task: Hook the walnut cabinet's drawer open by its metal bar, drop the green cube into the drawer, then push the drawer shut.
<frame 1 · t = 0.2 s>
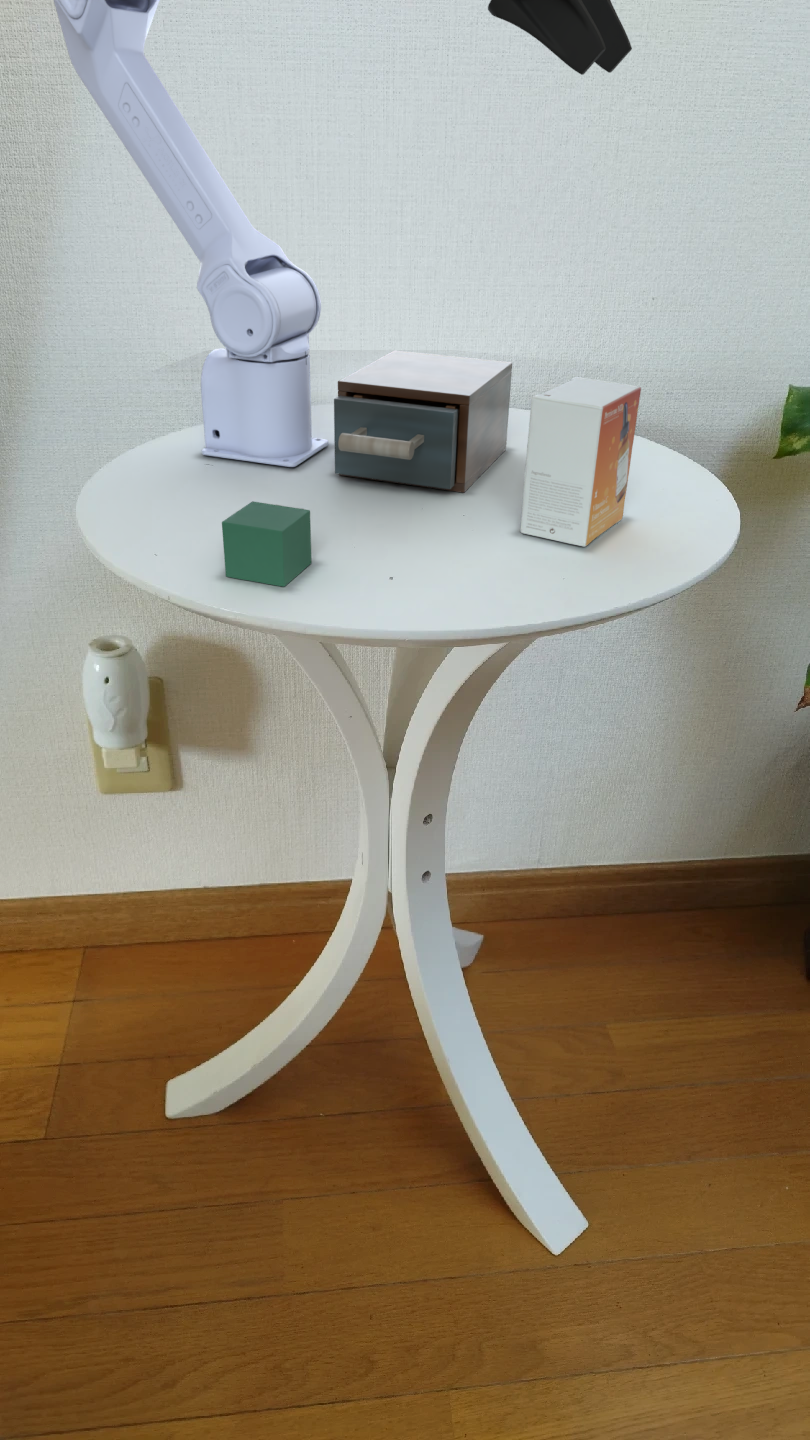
hand: (607, 61, 70), 31 cm above the table, tool tilted 45°, fingers open, 7 cm apart
cabinet: (425, 462, 93), on the table
green cube: (269, 570, 71), on the table
small box: (572, 528, 80), on the table
drawer: (408, 431, 87), point 4 cm above the table, slide at 1.0 cm
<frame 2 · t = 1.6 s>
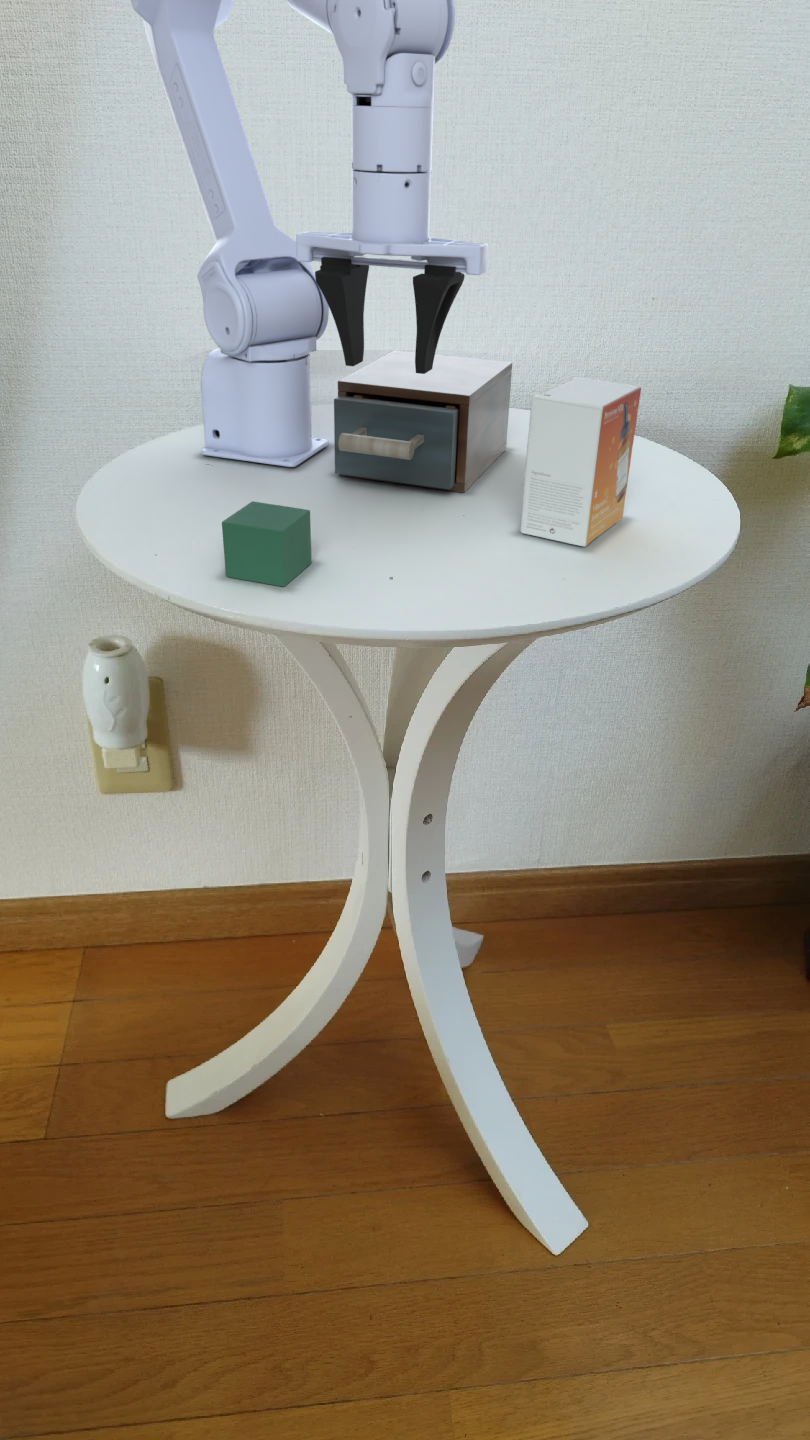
hand: (388, 367, 80), 10 cm above the table, tool pointing down, fingers open, 5 cm apart
nothing on the table moved.
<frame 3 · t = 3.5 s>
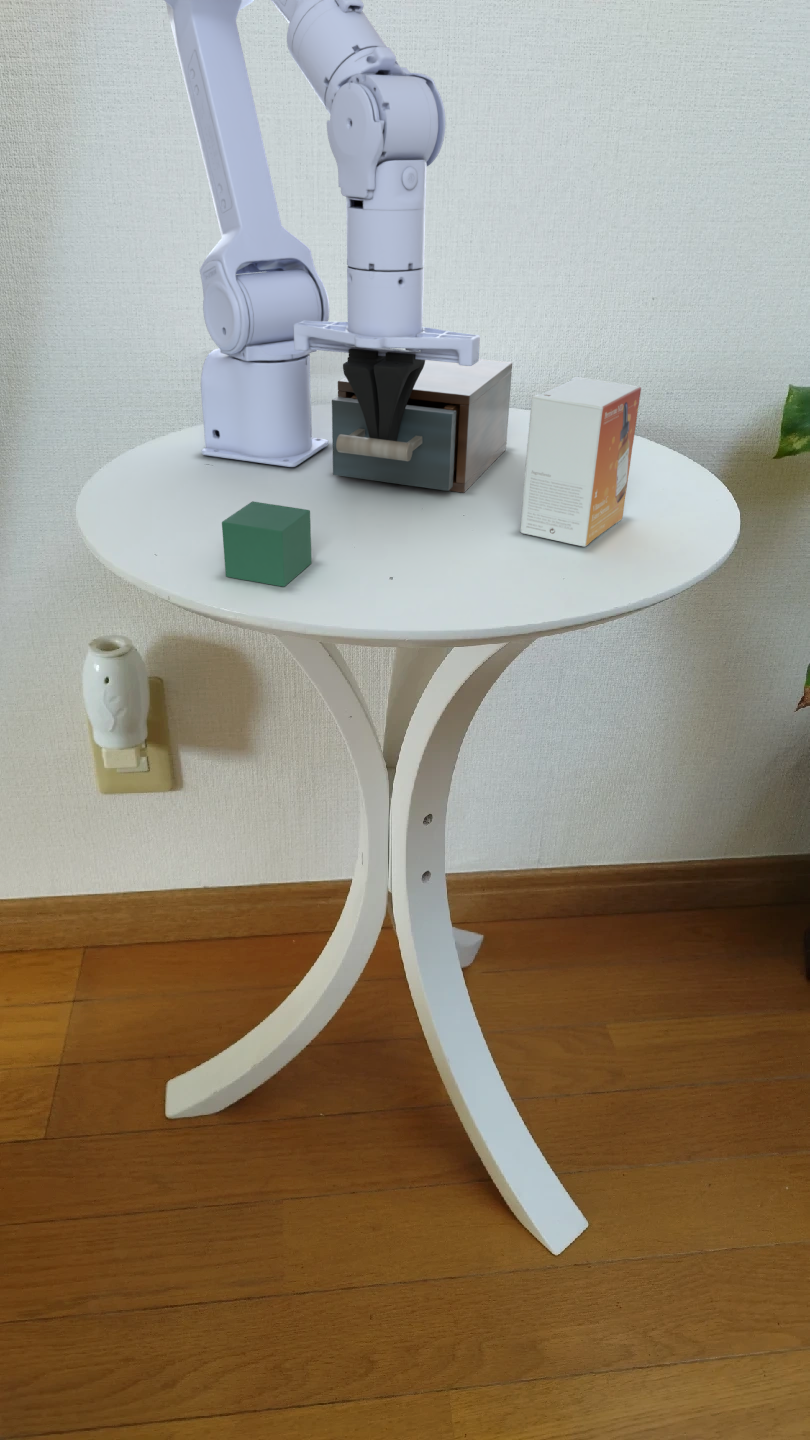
hand: (384, 449, 82), 4 cm above the table, tool pointing down, fingers closed, pressing on drawer
drawer: (407, 432, 87), point 4 cm above the table, slide at 1.4 cm, touching gripper
everything else where it was.
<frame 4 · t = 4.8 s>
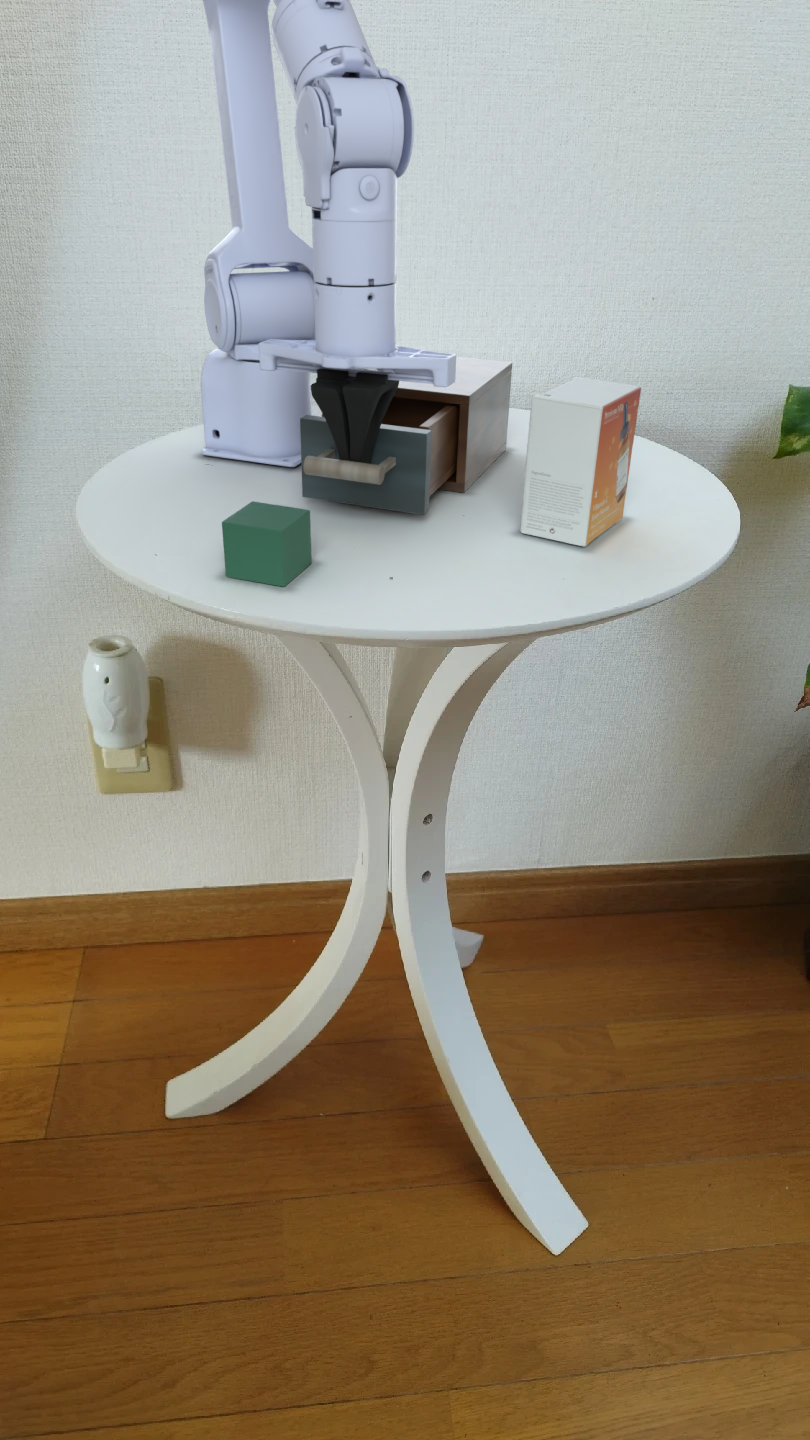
hand: (356, 475, 77), 4 cm above the table, tool pointing down, fingers closed, pressing on drawer
drawer: (381, 452, 82), point 4 cm above the table, slide at 7.6 cm, touching gripper
everything else where it was.
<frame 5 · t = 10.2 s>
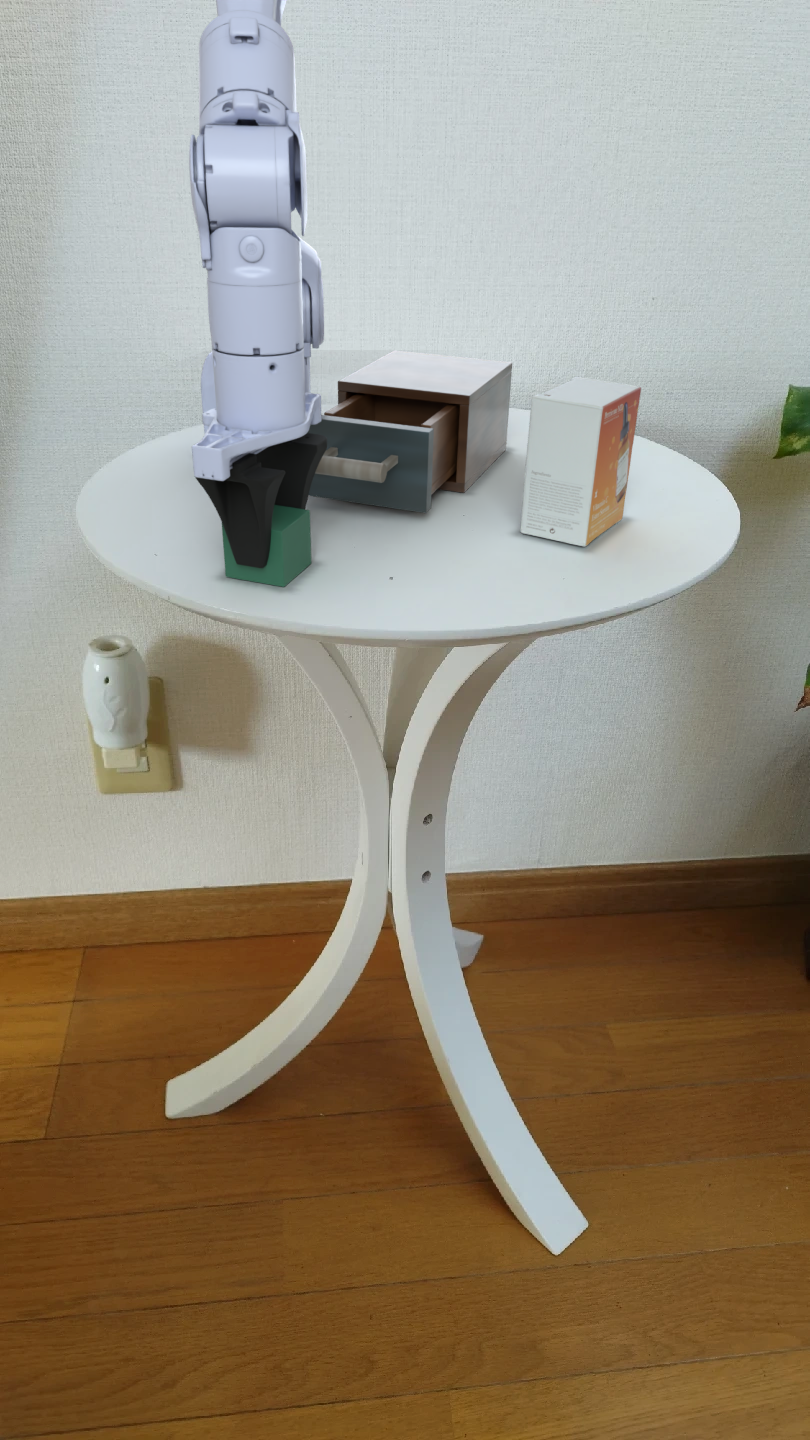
hand: (268, 551, 71), 1 cm above the table, tool pointing down, fingers closed on green cube, 4 cm apart
green cube: (269, 570, 71), on the table, touching gripper
drawer: (383, 450, 82), point 4 cm above the table, slide at 7.1 cm
everything else where it was.
when the fingers open (8 cm above the table, at t = 13.9 s): green cube drops 4 cm and tips over, resting on drawer.
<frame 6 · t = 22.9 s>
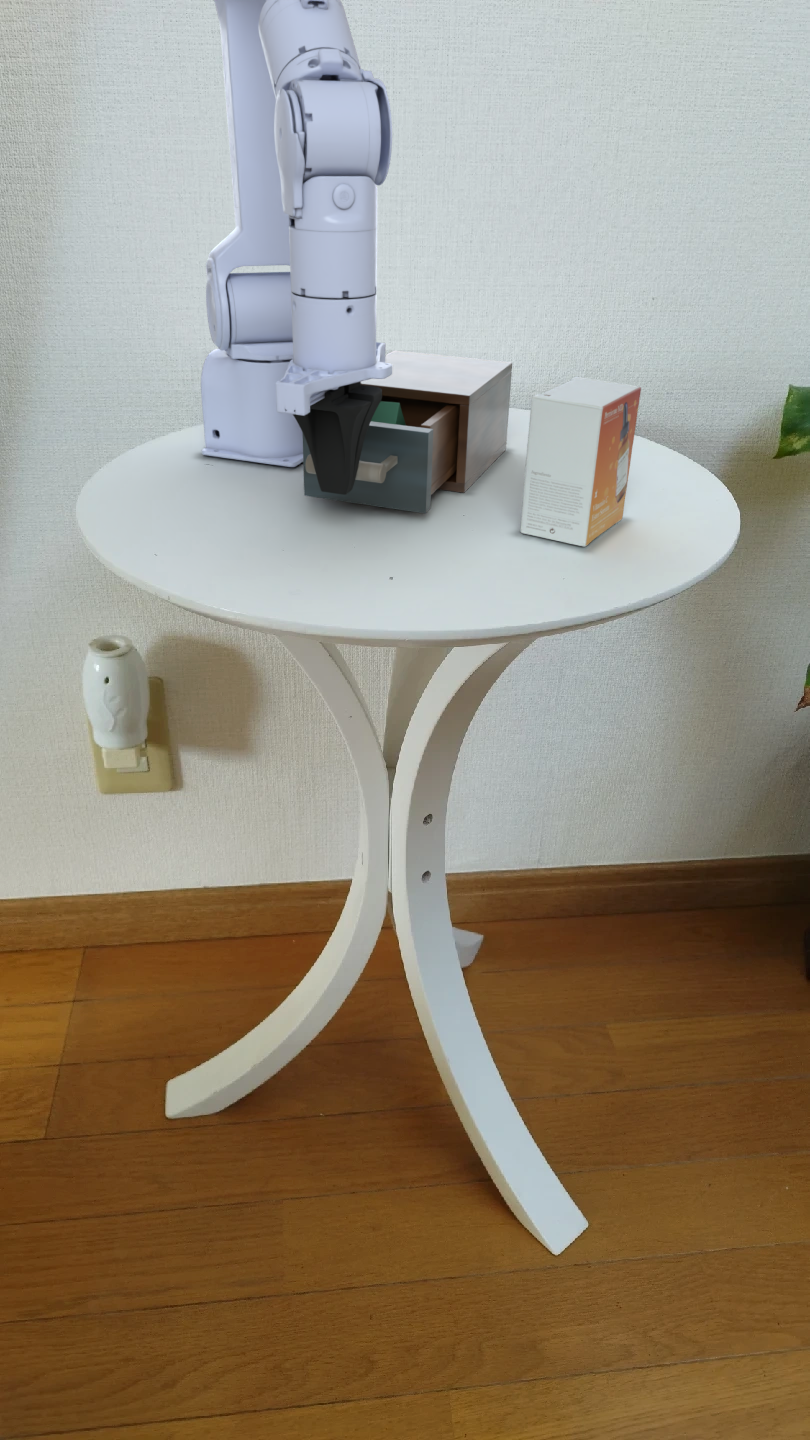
hand: (336, 490, 75), 4 cm above the table, tool pointing down, fingers closed
green cube: (368, 459, 82), point 4 cm above the table, tilted 43°, touching drawer
drawer: (382, 451, 82), point 4 cm above the table, slide at 7.2 cm, touching gripper, green cube
everything else where it was.
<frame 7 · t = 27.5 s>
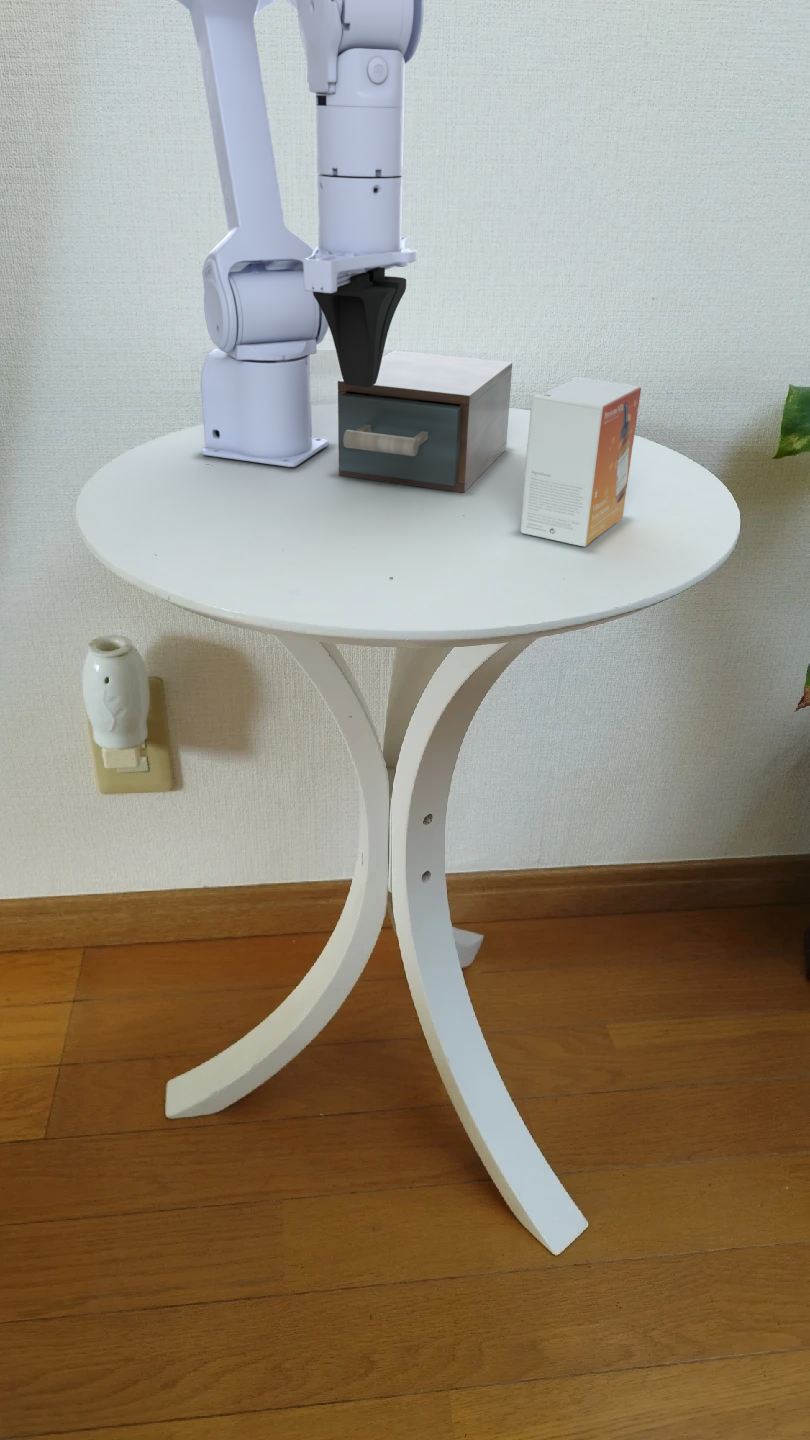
hand: (360, 384, 75), 10 cm above the table, tool pointing down, fingers closed
green cube: (396, 445, 88), point 3 cm above the table, tilted 16°, touching drawer
drawer: (412, 428, 88), point 4 cm above the table, slide at 0.0 cm, touching cabinet, green cube
everything else where it was.
at the end: green cube inside the target area in the cabinet (4.8 cm from its centre), point 2.6 cm above the cabinet's base; drawer slide at 0.0 cm; the gripper is holding nothing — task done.
